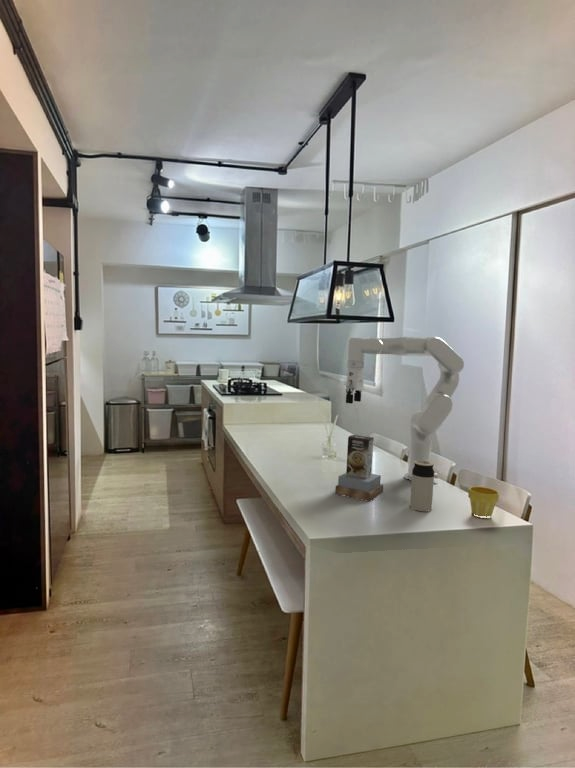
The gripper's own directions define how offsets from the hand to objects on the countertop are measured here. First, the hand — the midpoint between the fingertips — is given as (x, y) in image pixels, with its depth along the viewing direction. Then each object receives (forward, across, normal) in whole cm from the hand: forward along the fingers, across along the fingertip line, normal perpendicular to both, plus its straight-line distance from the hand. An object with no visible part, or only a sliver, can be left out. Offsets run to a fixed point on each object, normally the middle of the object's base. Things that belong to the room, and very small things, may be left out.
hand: (353, 402), depth 228 cm
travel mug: (+34, -26, -40) cm, 59 cm away
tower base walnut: (+35, -23, -14) cm, 44 cm away
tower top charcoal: (+31, -23, -14) cm, 41 cm away
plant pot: (+34, -20, -61) cm, 73 cm away
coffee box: (+27, -23, -13) cm, 38 cm away
